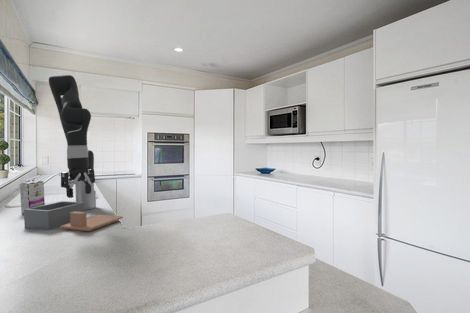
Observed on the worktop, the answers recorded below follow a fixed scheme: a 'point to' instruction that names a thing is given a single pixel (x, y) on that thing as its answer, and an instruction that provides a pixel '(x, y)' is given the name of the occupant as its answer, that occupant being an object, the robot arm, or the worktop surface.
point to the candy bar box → (31, 195)
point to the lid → (89, 221)
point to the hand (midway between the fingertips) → (79, 195)
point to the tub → (51, 215)
